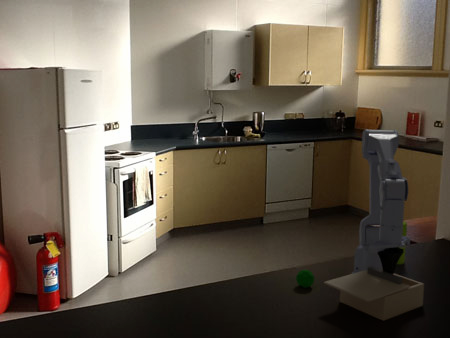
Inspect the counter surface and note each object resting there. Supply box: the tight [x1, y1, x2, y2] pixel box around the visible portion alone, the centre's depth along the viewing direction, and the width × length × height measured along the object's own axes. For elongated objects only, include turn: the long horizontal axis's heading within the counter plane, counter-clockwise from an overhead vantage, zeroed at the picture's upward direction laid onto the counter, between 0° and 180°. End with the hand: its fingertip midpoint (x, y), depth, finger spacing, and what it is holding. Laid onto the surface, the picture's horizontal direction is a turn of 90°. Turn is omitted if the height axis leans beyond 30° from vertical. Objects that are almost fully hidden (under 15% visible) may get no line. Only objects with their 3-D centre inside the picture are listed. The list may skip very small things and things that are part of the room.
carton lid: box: [323, 267, 410, 302], centre depth 135 cm, size 14×16×2 cm
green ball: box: [295, 269, 315, 289], centre depth 151 cm, size 5×5×5 cm
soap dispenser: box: [397, 220, 408, 265], centre depth 174 cm, size 6×7×20 cm
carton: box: [339, 269, 425, 321], centre depth 139 cm, size 14×16×6 cm
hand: (388, 274), depth 140 cm, fingers closed
